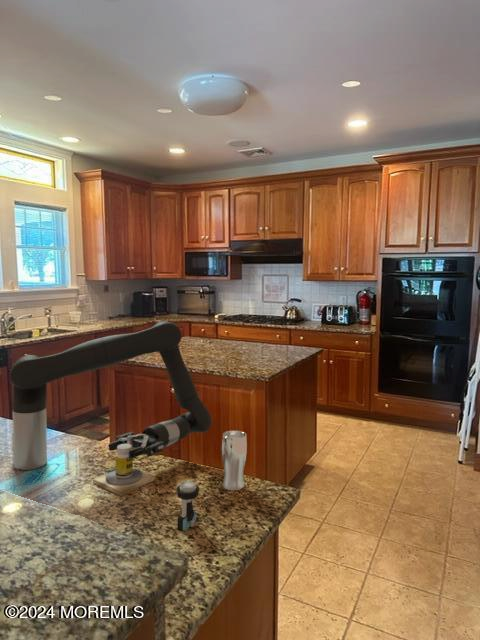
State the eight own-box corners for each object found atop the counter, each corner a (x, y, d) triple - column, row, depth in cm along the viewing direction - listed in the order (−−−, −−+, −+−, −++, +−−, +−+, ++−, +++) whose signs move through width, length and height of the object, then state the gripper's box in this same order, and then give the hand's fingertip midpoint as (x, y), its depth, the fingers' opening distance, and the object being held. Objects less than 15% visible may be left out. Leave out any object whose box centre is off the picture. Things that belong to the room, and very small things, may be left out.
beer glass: (249, 483, 126) (251, 432, 124) (239, 494, 119) (240, 440, 118) (227, 478, 128) (229, 428, 127) (216, 488, 122) (217, 436, 121)
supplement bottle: (128, 479, 122) (128, 450, 121) (112, 477, 123) (112, 448, 122) (135, 472, 127) (135, 444, 126) (120, 470, 128) (120, 442, 127)
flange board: (92, 482, 123) (92, 476, 123) (126, 468, 133) (126, 462, 133) (121, 495, 116) (121, 488, 116) (154, 479, 126) (154, 473, 126)
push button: (187, 514, 108) (188, 475, 107) (206, 520, 106) (206, 480, 105) (171, 527, 102) (171, 486, 102) (190, 534, 100) (191, 492, 99)
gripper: (145, 418, 139) (102, 432, 126) (178, 428, 131) (136, 444, 118) (145, 441, 140) (103, 457, 127) (178, 452, 132) (136, 471, 119)
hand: (119, 451), depth 123 cm, fingers open, 8 cm apart
